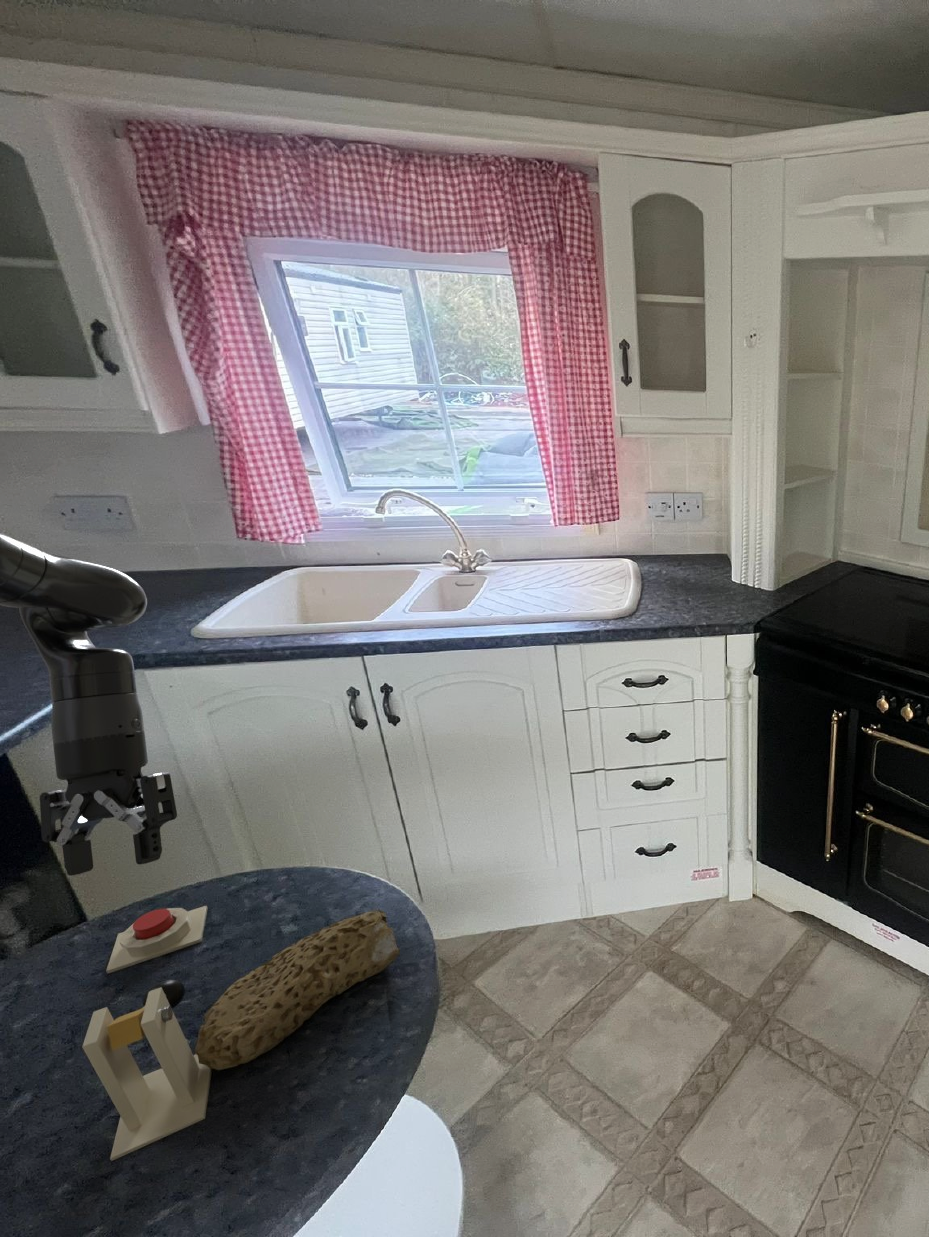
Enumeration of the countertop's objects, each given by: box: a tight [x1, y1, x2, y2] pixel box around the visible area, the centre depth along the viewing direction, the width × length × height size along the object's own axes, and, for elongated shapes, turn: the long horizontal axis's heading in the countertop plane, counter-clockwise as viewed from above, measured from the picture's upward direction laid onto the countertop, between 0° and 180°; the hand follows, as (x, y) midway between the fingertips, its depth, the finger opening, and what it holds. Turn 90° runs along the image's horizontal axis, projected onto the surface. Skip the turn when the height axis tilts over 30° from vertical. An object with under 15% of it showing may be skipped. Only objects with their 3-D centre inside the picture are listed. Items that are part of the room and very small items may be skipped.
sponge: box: [194, 909, 401, 1071], centre depth 81 cm, size 13×8×20 cm
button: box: [132, 908, 174, 940], centre depth 88 cm, size 4×4×2 cm
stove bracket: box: [81, 987, 213, 1162], centre depth 68 cm, size 9×7×14 cm
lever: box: [107, 979, 186, 1050], centre depth 71 cm, size 14×3×3 cm, turn 35°
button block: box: [105, 905, 209, 975], centre depth 88 cm, size 9×7×3 cm
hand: (115, 867), depth 79 cm, fingers open, 8 cm apart
